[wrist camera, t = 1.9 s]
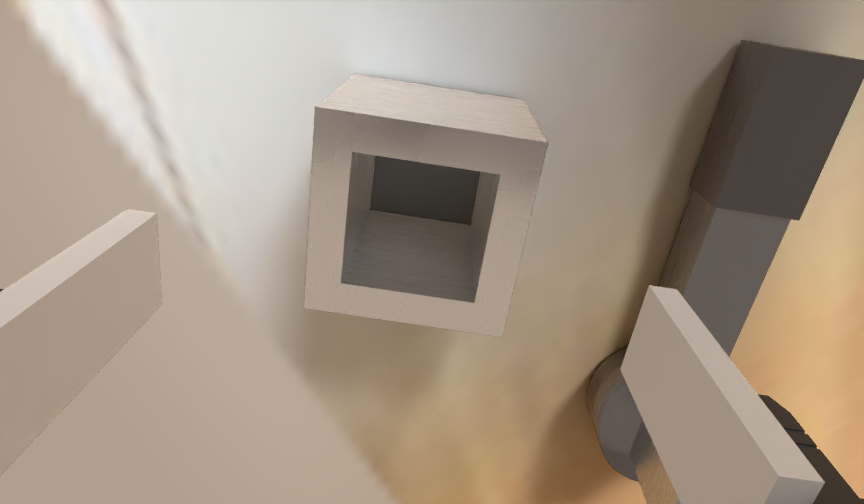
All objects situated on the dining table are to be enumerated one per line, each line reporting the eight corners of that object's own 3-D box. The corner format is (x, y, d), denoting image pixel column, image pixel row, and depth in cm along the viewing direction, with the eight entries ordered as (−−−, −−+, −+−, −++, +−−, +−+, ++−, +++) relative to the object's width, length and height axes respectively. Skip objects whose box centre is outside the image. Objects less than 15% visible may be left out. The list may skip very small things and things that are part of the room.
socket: (354, 73, 23) (314, 106, 17) (523, 99, 23) (548, 142, 17) (341, 230, 26) (303, 308, 20) (491, 252, 26) (502, 337, 20)
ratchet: (703, 33, 22) (836, 59, 14) (864, 59, 22) (1082, 98, 14) (573, 431, 30) (612, 581, 23) (690, 448, 31) (767, 602, 23)
